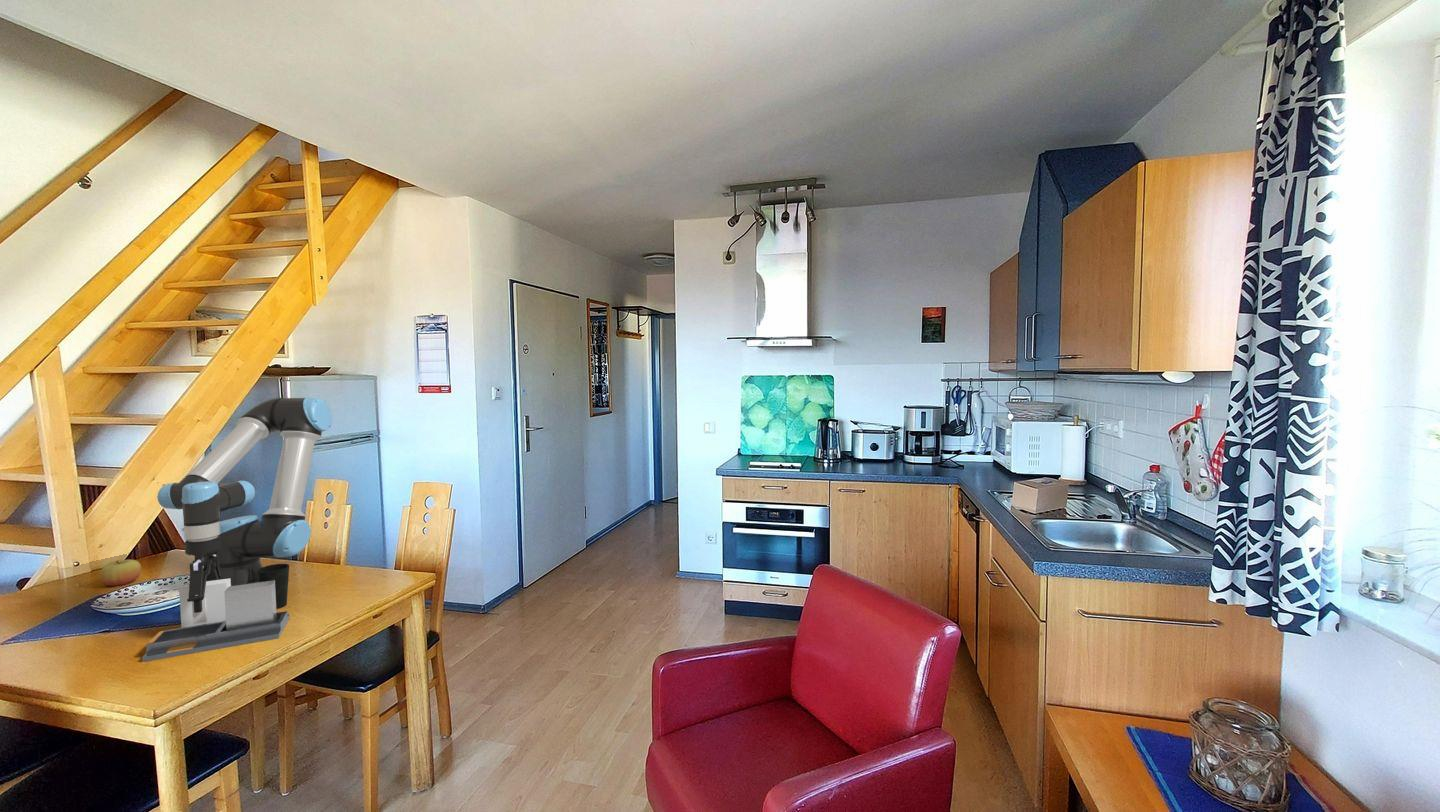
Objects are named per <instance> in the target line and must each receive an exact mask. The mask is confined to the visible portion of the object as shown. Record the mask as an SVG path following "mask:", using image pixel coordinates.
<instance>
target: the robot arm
mask: <svg viewBox="0 0 1440 812" xmlns="http://www.w3.org/2000/svg"><path fill="white" fill-rule="evenodd" d="M332 424H333V413H332V409H331V407H330V405H329V404H328V403H327V402H326V401H325V400H323V399H322V398H319V397H311V396H310V397H308V396H307V397H275V398H270V399H268V400H265V401H262V402H261V403H259V404H256V405H254V407H252V408H250V409H249V410H247V411H246V412H245V413H244V414H243V415H242V416H240V417H239V418H238V419H237V421H236V422H235V427H234V428H233V429H232V430H231V431H230V432H229V433H228V434H227V435H226V436H225V437H224V438H223V439H222V440H221V441H220V442H219V443H218V444H217V445H216V446H215V447H214V448H213V449H212V450H210V451H209V452H208V454H207V455H205V457H204V458H202V460H201V461H199V462H198V463H197V464H196V465H195V466H194V467H193V468H192V469H191V470H190V471H189V472H188V473H187V474H186V475H185V476H184V477H183V478H182V479H181V480H180V481H179V482H172V483H167V484H165V485H163V486H161V488H160V489H159V490H158V493H157V501H158V504H159V505H160V506H161V507H162V508H164V509H169V510H170V509H171V510H182V516H183V518H182V519H183V528H181V531H182V532H184V536H183V537H184V540H186V541H184V553H185V555H187V556H194V560H192V563H191V562H190V564H189V582H188V584H189V598H188V599H187V602H190V601H192V612H193V624H198V623H204V622H207V611H206V598H204V595H205V587H206V581H214V580H221V579H229V578H230V580H231V586H237V585H244V584H252V583H259V579H258V573H257V570H258V569H260V568H262V567H264V566H263V563H262V562H261V558H268V557H269V558H284V557H293V556H296V555H297V554H299V553H301V552H302V551H303V550H304V549H305V548H306V546H307V545H308V543H309V541H310V539H311V535H312V529H311V524H310V523H309V521H307V520H306V515H305V513H304V512H303V511H302V507H303V503H304V497H305V493H306V487H307V482H308V481H307V480H308V478H309V472H310V467H311V461H312V457H313V452H314V447H315V443H316V442H317V441H318V440H320V439H321V437H322V434H323V433H322V432H326V431H328V430H329V429H330V428H331V427H332ZM274 432H279V435H280V436H281V437H283V444H282V447H281V453H280V458H279V462H278V466H277V470H276V471H277V472H276V474H275V475H276V476H275V481H274V485H273V490H272V495H271V500H270V504H269V509H268V510H267V511H265V512H263V513H262V515H261V518H259V516H258V515H257V514H256V515H255V514H252V515H251V514H250V515H243V516H237V517H233V518H229V519H225V520H221V515H220V514H221V512H224V511H228V510H232V509H236V508H241V507H243V506H244V505H248V504H249V503H251V502H252V501H253V500H254V498H255V496H256V490H255V489H256V488H255V487H254V486H253V484H252V483H250V482H249V481H247V480H238V481H237V480H233V481H231V482H220V481H221V480H222V479H224V478H225V476H227V475H228V473H229V472H230V471H231V470H232V469H233V468H234V467H235V466H236V465H237V464H238V463H239V462H240V461H241V460H242V459H243V458H244V456H246V454H247V453H249V451H251V449H252V448H253V447H254V446H255V445H256V444H257V443H258V442H259V441H260V440H264V439H266V438H267V437H268V436H269V435H270V434H272V433H274ZM195 595H198V596H195Z"/></svg>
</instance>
